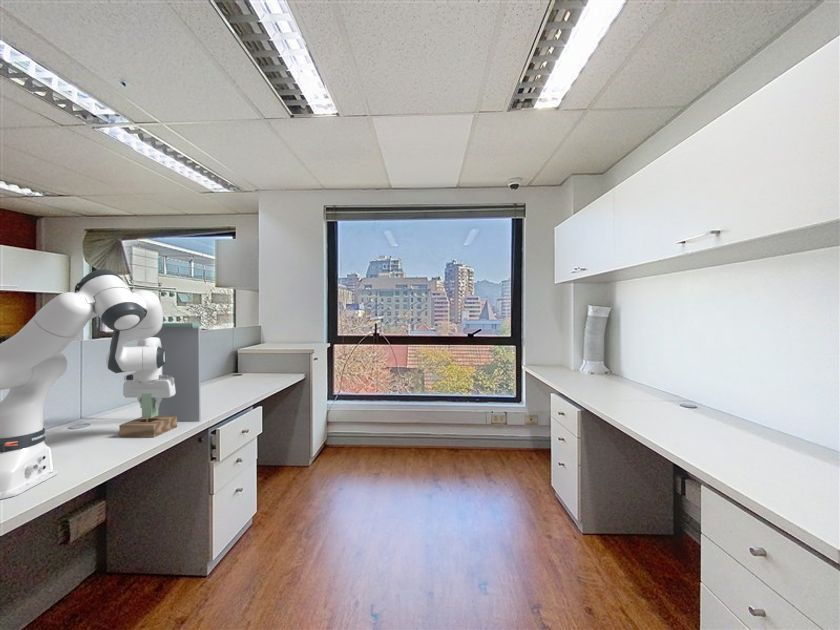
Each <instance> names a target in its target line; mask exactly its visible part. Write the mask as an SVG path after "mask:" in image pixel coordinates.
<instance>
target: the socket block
mask: <svg viewBox="0 0 840 630" xmlns="http://www.w3.org/2000/svg"><path fill="white" fill-rule="evenodd" d="M177 427H178V422H177V416H155V417H152V418H142V416H141V417H138V418H135V419H132V420H130V421H127V422H125V423H121V424H119V428H118V429H119V431H118V432H119V433H118V434H119V436H118V437H119V438H121V439H123V438H127V439H128V438H131V439H132V438H142V439H143V438H145V439H146V438H148V439H149V438H155V437H158V436H161V435H163V434H164V433H165V434H166V433H167V432H169V431H171V430H174V429H175V428H177Z"/></svg>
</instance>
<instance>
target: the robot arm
mask: <svg viewBox="0 0 840 630" xmlns="http://www.w3.org/2000/svg"><path fill="white" fill-rule="evenodd" d="M96 317H99V318H100V321H101V322H102V324H103V325H105V327H107V328H108V329H110V330H112V331H113V332H112V334H111V335H112V336H111V341H110V346H109V351H108V353H107V356H106V359H105V361H106V367H107V370H108V371H111V372H112V373H115V374H120V373H126V372H132V373H128V374H125V375H124V376H123V379H124V383H123V385H122V389H123V390H122V395H123V397H124V398H127V399H128V398H129V399H130V398H131V399H132V398H136V399H137V402H138V403H139V406H140V409H142V394H151V397H152V398H155V400H157V401H156V403H155V404H153V408H159V403H160V402H161V400H162V398H169V397H173V396H174V395H175V394H176V391H175V384H174V378H173V377H172V376H171V375H162V366H163V365H164V364H165V350H164V349H162V347H161V341H160V338H158V337H152V336H154V335H155V334H157V333H158V332H159V331H160V330H161V328H162V324H163V323H164V312H163V307H162V304H161V301H160V298H159V296H157V294H156V293H155V292H153V291H151V290H145V289H140V290H135V291H133V292H132V289H130V287H129V286H128V285H127V284H126V283H125V281H124V280H123V278H122V277H121V276H120V275H119V274H118V273H116V272H114V271H112V270H110V269H103V268H102V269H96V270H94V271H91V272H89V273H87V274H86V275H85V276H84V277H82V278H81V279H80V281H78V282H77V283H76V284H75V286H74V292H73V291H71V292H70V291H67V292H63V293H60V294H58V295H57V296H55V297H53V298H52V299H51V300H49V301H48V302H47V303H45V304H44V306H42V307H41V308H40V309H39V310H38V311H37V312H36V313H35V314H34V316H32V318H31V319H30V320H29V321H28V322H27V323H26V324H25V325H24V326H23V327H21V329H20V330H19V331H18V332H16V334H14V335H12V336H11V337H9V338H8V339H6V340H5V341H2V342H1V343H0V391H3V390H9V391H8V392H7V394H6V396H5V397H4V399H2V400H0V500H5V499H8V498H12V497H15V496H18V495H20V494H21V493H23V492H25V491H27V490H29V489H31V488H33V487H35V486H37V485H39V484H41V483H43V482H44V481H47V480H49V479H51V478H52V477H54V476H56V475H58V474H59V472H58V470H57V469H53V459H52V458H53V457H52V451H51V448H50V446H48V445H47V444H46V443H45V440H46V433H47V432H46V428H45V427H44V412H45V411H44V407H45V402H46V400H47V399H46V398H47V396H48V394H49V392H50V391H51V388H52V387H53V385H54V384H55V382H56V381H58V380H59V378H61V377H62V376H63V375H64V374H65V373H66V371H67V369H68V360H67V357H66V356H65V354H63V351H64V350H65V349H66V348H67V347H68V346H69V345H70V343H72V342H73V340H75V338H76V337H77V336H78V335H79V334H80V333H81V332H82V331H83V329H84V328H85V326H87V324H88V323H89V322H90V321H91V320H92V319H93V318H96ZM133 341H137V344H136V345H137V346H125V344H127V343H130V342H133ZM170 377H172V378H170Z"/></svg>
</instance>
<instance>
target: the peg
mask: <svg viewBox="0 0 840 630" xmlns="http://www.w3.org/2000/svg"><path fill="white" fill-rule="evenodd" d="M156 401H157V400H155V398H152V397H151V394H142V408H141V417H142V418H152V417H155V416H157V415H158V408H153V404H155V403H156Z"/></svg>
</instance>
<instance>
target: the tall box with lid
mask: <svg viewBox="0 0 840 630" xmlns="http://www.w3.org/2000/svg"><path fill="white" fill-rule="evenodd" d="M152 337H158V338H160V341H161V347H162V349H164V350H165V364H164V365H163V366H162V375H171V376H172V377H173V378H174V384H175V391H176V394H175V395H174V396H173V397H169V398H162V400H161V402H160V403H159V408H158V415H157V416H177V423H178V422H179V423H181V422H182V423H183V422H184V423H185V422H187V423H188V422H189V423H191V422H192V423H194V422H195V423H197V422H198V423H200V422H201V418H202V417H201V324H200V322H163V324H162V328H161V330H160V331H159V332H158V333H157V334H155V335H154V336H152ZM172 377H170V378H172Z"/></svg>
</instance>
